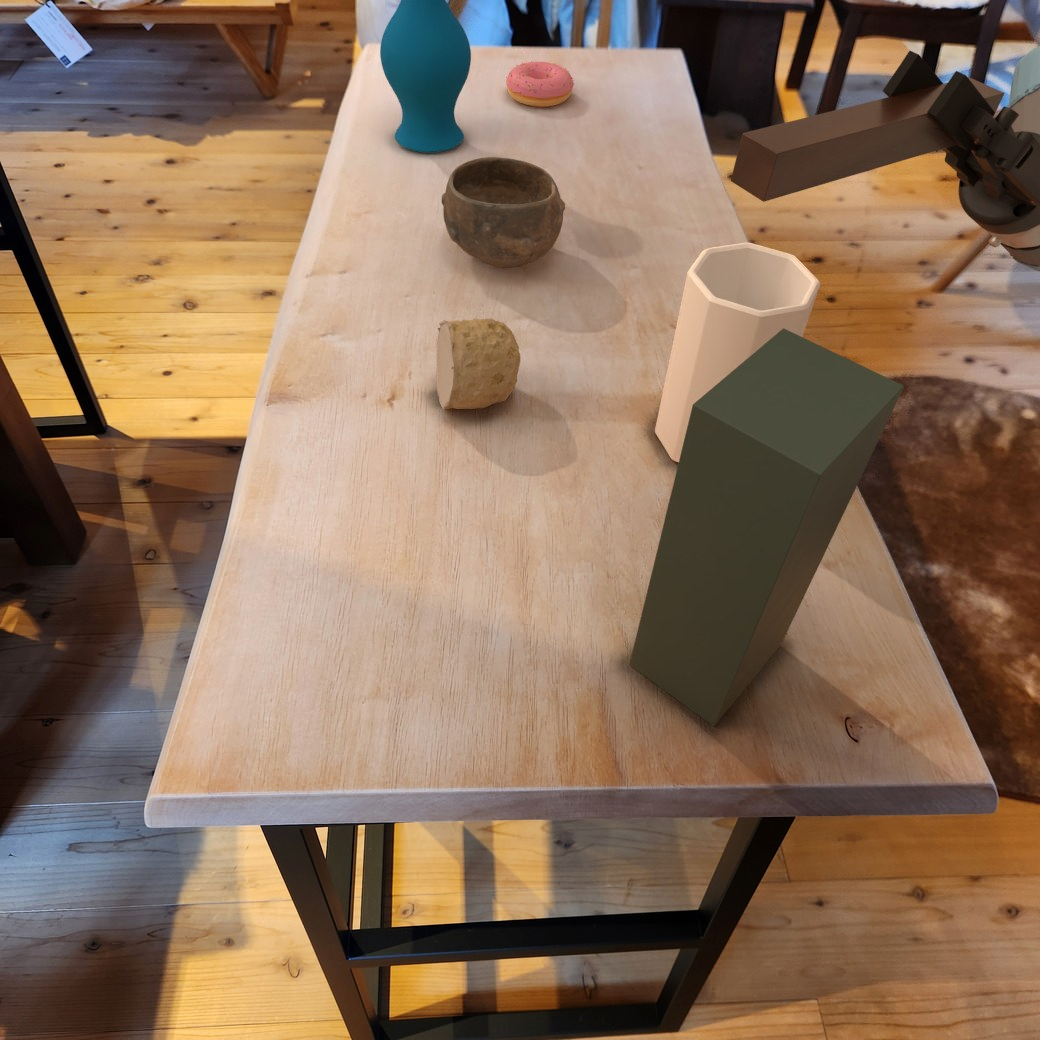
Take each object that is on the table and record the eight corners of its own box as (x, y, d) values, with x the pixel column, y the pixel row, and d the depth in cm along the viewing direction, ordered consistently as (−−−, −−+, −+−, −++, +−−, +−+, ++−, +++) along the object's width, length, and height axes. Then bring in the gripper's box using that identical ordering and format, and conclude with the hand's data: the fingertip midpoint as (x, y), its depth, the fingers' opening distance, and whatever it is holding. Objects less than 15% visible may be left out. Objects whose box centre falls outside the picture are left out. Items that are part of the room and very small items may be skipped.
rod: (984, 136, 61) (1005, 92, 58) (763, 202, 52) (777, 153, 49) (950, 120, 62) (969, 76, 60) (729, 181, 53) (742, 132, 51)
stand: (781, 645, 69) (904, 385, 49) (713, 727, 64) (821, 475, 44) (699, 591, 72) (783, 327, 52) (628, 664, 67) (692, 404, 47)
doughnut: (499, 84, 142) (500, 57, 138) (563, 81, 143) (565, 54, 140) (513, 112, 135) (513, 84, 131) (580, 108, 136) (582, 81, 133)
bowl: (529, 300, 100) (533, 222, 93) (417, 264, 105) (413, 186, 97) (578, 246, 109) (585, 170, 101) (473, 214, 113) (472, 139, 105)
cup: (631, 431, 86) (660, 268, 72) (705, 387, 91) (745, 227, 77) (715, 494, 80) (764, 331, 66) (788, 443, 85) (848, 282, 71)
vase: (387, 122, 130) (369, -97, 110) (469, 122, 132) (467, -96, 111) (387, 159, 123) (368, -71, 102) (474, 158, 124) (473, -69, 103)
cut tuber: (400, 317, 85) (490, 276, 84) (444, 391, 92) (528, 354, 91) (404, 371, 79) (502, 327, 77) (451, 446, 86) (542, 408, 84)
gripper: (1069, 276, 69) (985, 191, 52) (913, 191, 78) (797, 93, 61) (1142, 191, 66) (1078, 70, 49) (971, 111, 75) (865, -15, 58)
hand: (923, 83), depth 55 cm, fingers closed on rod, 3 cm apart
